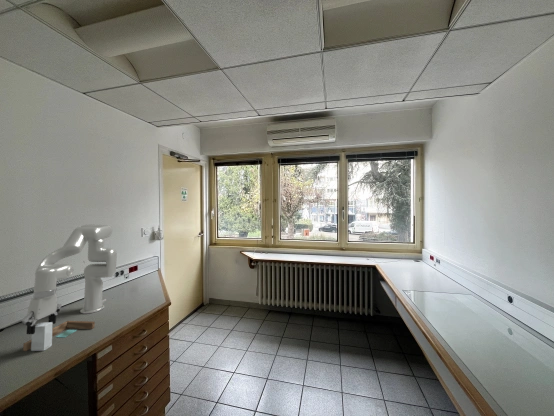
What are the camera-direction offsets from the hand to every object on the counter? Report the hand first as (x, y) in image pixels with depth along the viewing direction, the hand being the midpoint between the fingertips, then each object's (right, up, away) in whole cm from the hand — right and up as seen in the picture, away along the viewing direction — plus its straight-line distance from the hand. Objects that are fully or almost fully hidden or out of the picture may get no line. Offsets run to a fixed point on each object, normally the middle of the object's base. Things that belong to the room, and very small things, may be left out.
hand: (41, 328), depth 105 cm
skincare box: (-1, -10, 0) cm, 10 cm away
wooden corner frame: (+1, -10, +9) cm, 14 cm away
